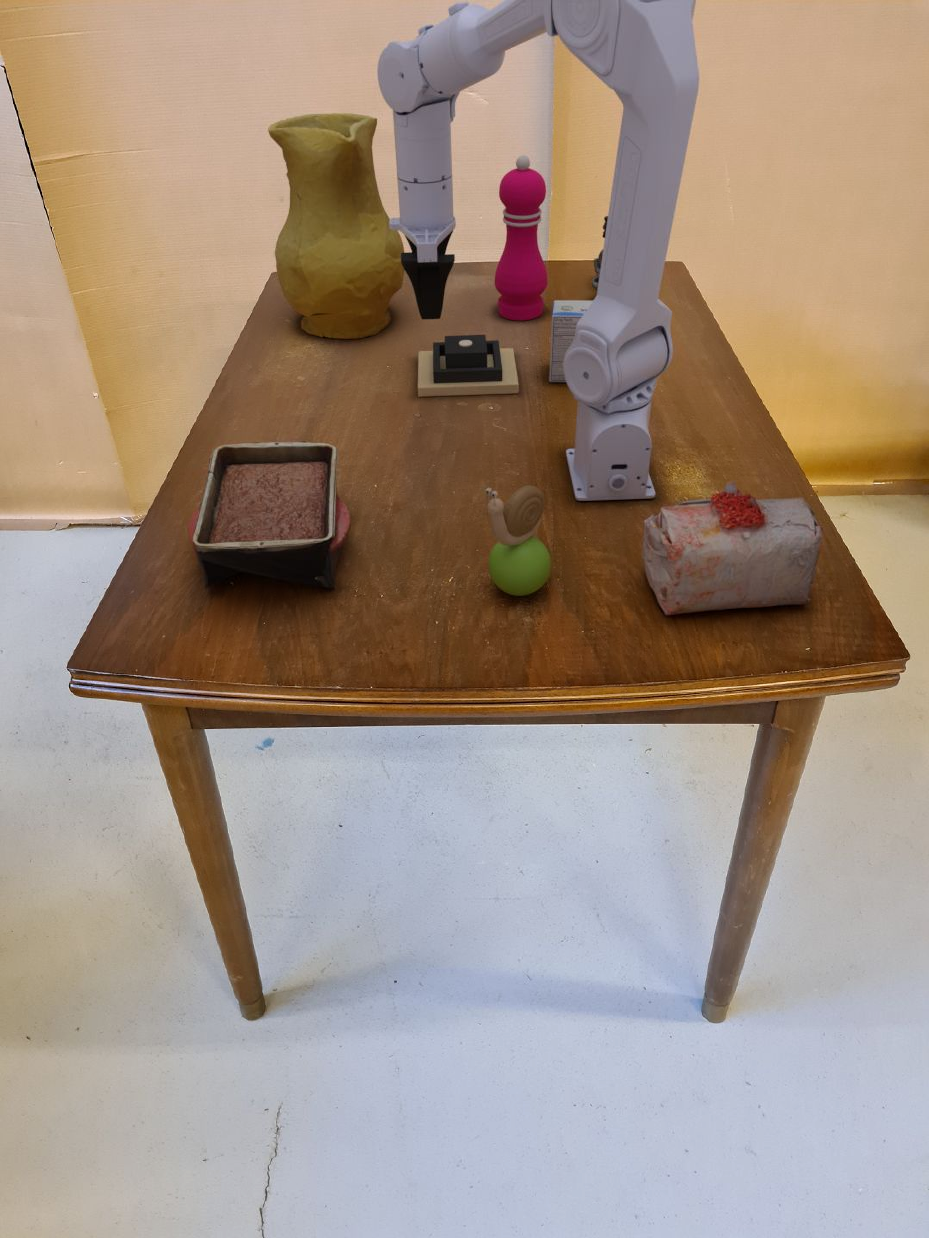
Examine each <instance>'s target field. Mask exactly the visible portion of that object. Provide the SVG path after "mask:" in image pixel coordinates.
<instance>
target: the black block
mask: <svg viewBox="0 0 929 1238" xmlns="http://www.w3.org/2000/svg"><path fill="white" fill-rule="evenodd" d="M486 341H487V336H486V334H463V335H444V342H445V364H446V369H452V368H482V367H487V345H486Z"/></svg>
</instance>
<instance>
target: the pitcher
mask: <svg viewBox="0 0 929 1238" xmlns="http://www.w3.org/2000/svg"><path fill="white" fill-rule="evenodd" d="M377 125H378V118H377V117H375V116H374V117H373V116H369V115H365V114H359V113H351V112H350V113H346V112H345V113H338V112H337V113H336V112H335V113H307V114H303V115H296V116H293V117H288V118H287V117H286V118H285V119H281V120H278V121H276V122H273V123H271V124H270V125H269V126H268V127H267V131H268V134H269V137H270V138H271V139H272V140H273V141H274V142H275V144H277V145H278V146H279V147H280V148H281V150H282V158H283V160H284V162H285V166H286V171H287V172H286V177H287V180H288V185H289V208H288V214H287V217H286V219H285V222H284V224H283V227H282V228H281V230H280V232H279V235H278V237H277V239H276V243H275V249H274V257H275V268H276V275H277V280H278V282H279V285H280V288H281V290H282V294H283V298H284V299H286V301H287V302H288V303H289V305H290V307H291V308H292V309H293V311H294V312H295V313H297V314H300V315H302V316H303V318H302V319H301V320H300V325H301V326H300V329H301V330H303V331H305V333H306V334H308V335H313V336H316V337H320V338H323V337H325V338H328V339H338V340H341V339H343V340H350V339H353V340H354V339H362V338H366V337H371V336H375V335H377V334H379V333H380V331H382V330H384V329H385V328H387V326H388V325H389V323H390V322H391V321H392V319H391V312H390V311H389V310H388V307H389V305H390V302H391V300H392V298H393V296H394V295H396V293H397V292H399V291H400V290H401V289H402V288H403V282H404V274H405V270H404V268H403V266H402V263H401V253H406V252H405V248H404V243H403V239H402V236H401V234H400V232H399V230H390V226H389V221H390V219H391V218H390V217H389V215H388V213H387V212H386V210H385V207H384V206H383V203H382V199H381V196H380V191H379V187H378V181H377V178H376V177H377V176H376V171H375V165H374V164H375V163H374V154H373V143H374V142H373V140H374V137H375V133H376V129H377Z"/></svg>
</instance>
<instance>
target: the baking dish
mask: <svg viewBox="0 0 929 1238" xmlns="http://www.w3.org/2000/svg"><path fill="white" fill-rule="evenodd" d="M338 459H339V454H338V449H337V447H336V446H335V445H332V444H330V443H324V442H315V441H311V442H310V441H309V442H308V441H285V442H284V441H283V442H282V441H272V442H271V441H267V442H266V441H265V442H256V441H255V442H247V443H244V442H243V443H234V444H233V443H231V444H224V445H219V446H216V447H215V448H213V449H212V452H211V454H210V458H209V461H208V463H209V467H208V470H207V475H206V480H205V485H204V490H203V493H202V496H201V501H200V503H199V506H198V507H197V508H196V510H195V511H194V512H193V514H192V515H191V517H190V520H189V524H188V537H189V540H190V543H191V546H192V548H193V550H194V553H195V555H196V558H197V560H198V562H199V565H200V566H201V570H202V573H203V578H204V582H205V585H204V589H207V588H210V587H212V586H213V585H215V584H218V583H220V582H221V581H224V580H227V579H229V578H231V577H233V576H235V575H237V574H239V573H247V574H253V575H256V576H263V577H266V578H272V579H277V580H282V581H287V582H292V583H298V584H301V585H302V584H303V585H309V586H314V587H318V588H319V587H320V588H326V589H332V590H335V589H336V588H335V577H336V571H337V567H338V566H337V565H338V562H339V560H340V556H341V553H342V549H343V547H344V544H345V540H346V537H347V536H348V533H349V531H350V528H351V526H352V519H351V515H350V512H349V510H348V509H349V508H347V505H346V504H345V503H344V501H343V500H342V499H341V498H340V496H339V495H338V491H337V490H338V489H337V488H338V487H337V485H338V484H337V483H338V482H337V481H338V479H337V477H338Z"/></svg>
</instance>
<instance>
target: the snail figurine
mask: <svg viewBox="0 0 929 1238" xmlns="http://www.w3.org/2000/svg"><path fill="white" fill-rule="evenodd" d="M485 494H486V495H487V502H488V503H487V505H486V510H487V513H488V514H489V521H490V526H491V529H492V533H493V535H494V537H495V540H496V541H497V542H496V543H495V544H494V546H493V547H492V549H491V551H490V553H489V557H488V563H487V564H488V565H487V566H488V572H489V576H490V579H491V580H492V582H493V583H494V585H495V586H496V587H497V588H498V589H499V590H500V591H502V592H504V593H506V594H508V595H511V596H517V597H518V596H519V597H523V596H528V595H531V594H533V593H535V592H537V591H539V590H540V589H541V588H542V587H543V586H544V585H545V583H546V582H547V581H548V579H549V576H550V573H551V569H552V559H551V555H550V552H549V550H548V548H547V547H546V545H545V544H544V543H543V542H542V541H541V540H540V539H539V538H537V537H536V536H534V535H535V533H536V532H537V531H538V528H539V526H540V524H541V521H542V516H543V514H544V510H545V497H544V493H543V492H542V490H541V489H540V488H538V486H535V485H524V486H521V487H519V488H518V489H516V490H515V491H513V493H512V494H511V495H510V496H509V497H508V499H507V500H506V502H505V503H504V502H503V500H502V499H500V498H499V497H498V496H499V492H498V491H497V490H493V489H492V488H491V487H487V488H485ZM490 495H491V497H492V499H490Z"/></svg>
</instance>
